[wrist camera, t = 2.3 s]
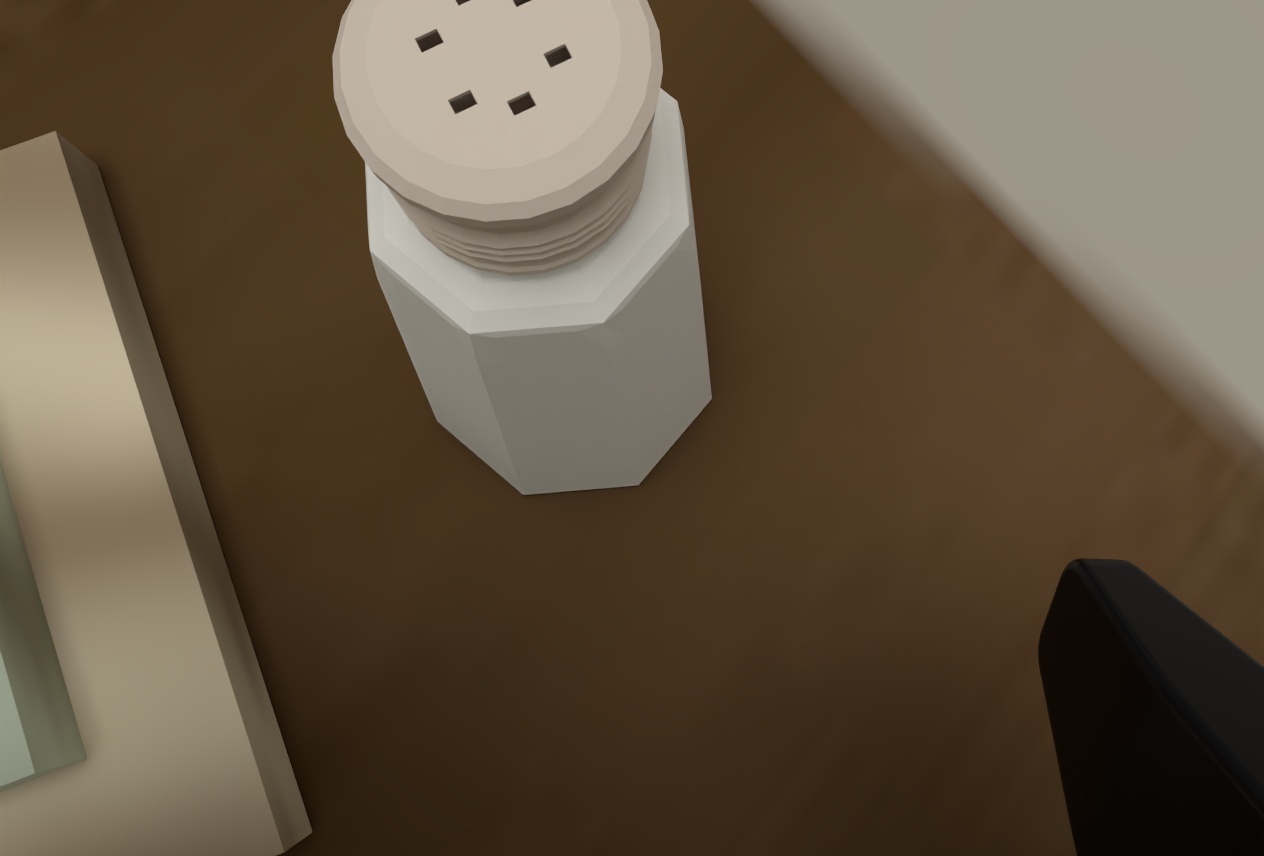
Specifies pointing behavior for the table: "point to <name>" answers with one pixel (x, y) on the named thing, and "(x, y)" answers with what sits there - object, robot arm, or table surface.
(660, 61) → the salt shaker
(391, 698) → the table surface
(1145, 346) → the table surface
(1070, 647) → the robot arm
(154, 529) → the plinth
